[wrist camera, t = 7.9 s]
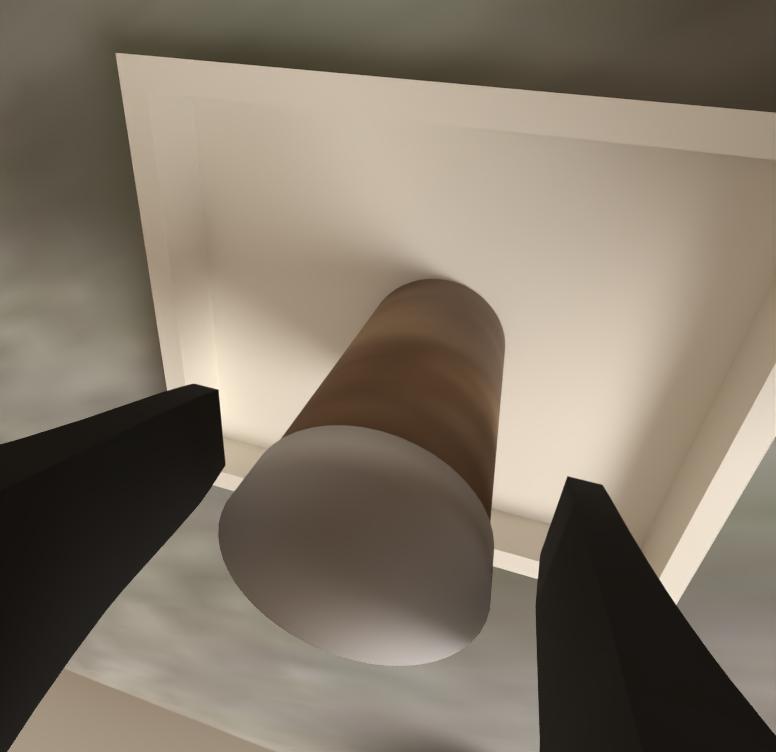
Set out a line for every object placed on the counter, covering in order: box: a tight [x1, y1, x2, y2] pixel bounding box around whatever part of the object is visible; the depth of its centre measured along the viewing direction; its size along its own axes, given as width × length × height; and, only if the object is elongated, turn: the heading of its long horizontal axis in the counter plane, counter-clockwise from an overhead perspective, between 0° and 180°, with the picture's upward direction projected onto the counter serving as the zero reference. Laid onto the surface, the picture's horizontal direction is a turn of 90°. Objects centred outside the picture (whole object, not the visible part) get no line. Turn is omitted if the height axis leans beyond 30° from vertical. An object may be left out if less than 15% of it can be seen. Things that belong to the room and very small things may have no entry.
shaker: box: [218, 279, 505, 666], centre depth 12 cm, size 5×5×9 cm
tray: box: [116, 53, 776, 604], centre depth 15 cm, size 18×14×2 cm
